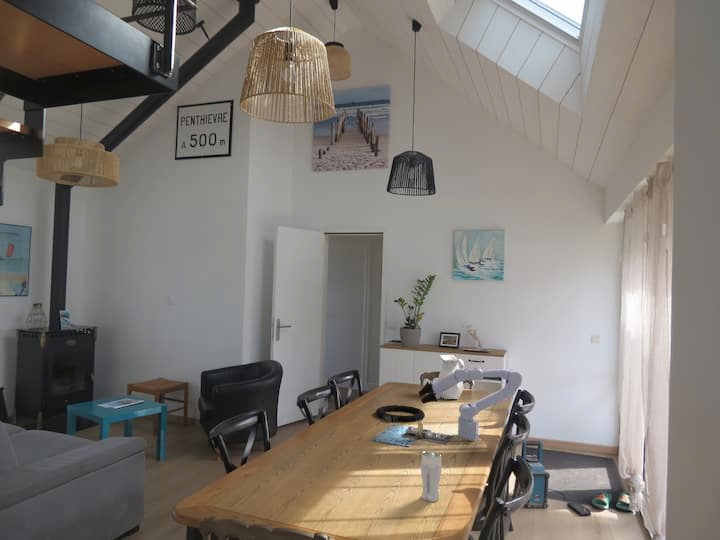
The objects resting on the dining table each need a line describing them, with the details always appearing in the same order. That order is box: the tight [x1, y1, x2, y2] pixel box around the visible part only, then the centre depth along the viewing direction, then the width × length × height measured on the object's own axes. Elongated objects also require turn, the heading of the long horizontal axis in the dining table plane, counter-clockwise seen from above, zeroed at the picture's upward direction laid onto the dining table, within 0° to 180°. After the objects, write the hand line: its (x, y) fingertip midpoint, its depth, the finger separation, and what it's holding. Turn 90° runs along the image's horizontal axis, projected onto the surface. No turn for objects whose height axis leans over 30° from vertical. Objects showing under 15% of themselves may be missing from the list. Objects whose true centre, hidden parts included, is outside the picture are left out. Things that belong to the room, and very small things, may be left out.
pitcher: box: [437, 354, 465, 400], centre depth 338 cm, size 24×17×28 cm
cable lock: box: [375, 404, 426, 423], centre depth 287 cm, size 28×4×30 cm
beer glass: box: [420, 450, 443, 503], centre depth 176 cm, size 7×7×15 cm
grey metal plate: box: [405, 426, 448, 441], centre depth 247 cm, size 19×6×3 cm, turn 66°
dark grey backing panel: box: [400, 431, 454, 445], centre depth 246 cm, size 22×16×1 cm
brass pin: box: [417, 420, 424, 439], centre depth 242 cm, size 2×2×8 cm
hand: (420, 398), depth 253 cm, fingers open, 7 cm apart
